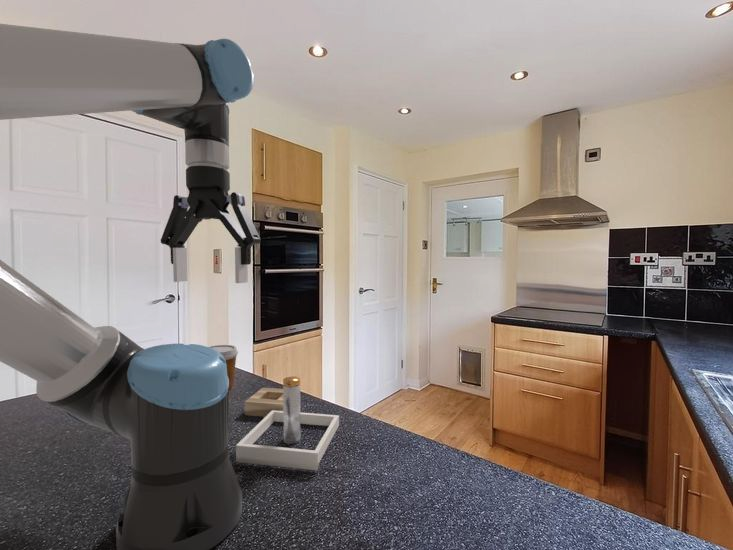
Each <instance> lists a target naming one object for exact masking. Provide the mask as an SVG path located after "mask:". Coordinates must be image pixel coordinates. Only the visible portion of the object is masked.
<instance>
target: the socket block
mask: <svg viewBox="0 0 733 550" xmlns="http://www.w3.org/2000/svg"><path fill="white" fill-rule="evenodd" d="M272 410H276V411H283V388H277V387H261V388H260V389H259V390H258V391H256V392H255V393H254V394H252V395H251V396H250V397H249V398H247V399H246V400H244V416H251V417H263V418H265V417H266V416H267V415H268V414H269V413H270V412H271V411H272Z"/></svg>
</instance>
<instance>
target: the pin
mask: <svg viewBox="0 0 733 550" xmlns="http://www.w3.org/2000/svg"><path fill="white" fill-rule="evenodd" d="M282 382H283V383H282V386H283V387H282V389H283V416H284V422H283V442H284V443H286V444H287V445H288V444H290V445H291V444H297V443H299V442H300V441H301V424H300V412H301V377H299V376H288V377H283V380H282Z"/></svg>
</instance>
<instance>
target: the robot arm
mask: <svg viewBox="0 0 733 550" xmlns="http://www.w3.org/2000/svg"><path fill="white" fill-rule="evenodd" d="M251 66H252V65H251V62H250V59H249V57H248V55H247V54H246V53H245V51H244V50H243V49H242V47H240V45H238V43H236V42H235V41H233V40H232V39H229V38H220V39H215V40H213V39H210V40H207V42H206V43H204V44H192V43H191V44H189V43H177V42H167V41H158V40H157V41H156V40H151V39H150V40H148V39H140V38H139V39H138V38H132V37H131V38H130V37H123V36H122V37H121V36H112V35H105V34H94V33H87V32H86V33H85V32H77V31H67V30H61V29H60V30H59V29H50V28H41V27H35V26H33V27H32V26H24V25H15V24H8V23H7V24H6V23H0V121H1V120H2V121H3V120H4V121H5V120H15V119H16V120H17V119H32V118H45V117H58V116H59V117H60V116H61V117H62V116H73V115H85V114H100V113H101V114H102V113H103V114H104V113H114V112H127V111H131V112H134V113H135V114H137V115H139V116H141V115H142V116H144V117H147V118H149V119H153V120H156V121H158V122H162V123H165V124H168V125H171V126H173V127H175V128H179V129H182V130H184V143H185V144H184V145H185V146H184V148H185V152H184V153H185V156H184V157H185V165H186V166H188V167H187V168H186V169H185V186H186V189H187V190H188V196H181V195H177V194H175V195H174V197H173V204H172V209H171V211H170V214H169V217H168V220H167V222H166V225H165V227H164V230H163V233H162V234H161V235H162V236H161V237H160V244H162V245H166V246H168V247H169V249H170V250H169V251H170V264H171V265H172V266H173V282H174V283H176V282H177V283H179V282H188V252H187V250H188V249H187V247H186V246H185V244H186V242H187V241H188V239H190V236H191V235H192V233H193V232H194V231H195V229H196V227H197V226H198V225H199V223H202V221H203V220H219V221H220V222H221V224H222V225H223V226H224V228H225V229H226V231H228V233H229V234H230V235H231V237H232V238H233V239H234V240H235V242H236V243H237V245H236V247H235V246H234V264H235V266H234V269H235V271H234V273H235V275H234V276H235V281H234V282H235V284H243V283H244V284H245V283H248V282H249V280H248V277H249V275H248V271H249V270H248V268H249V267H248V265H251V262H252V252H251V251H252V247H253V246H255V245H258V244H260V243H261V242H262V241H261V237H260V235H259V233H258V230H257V228H256V226H255V224H254V222H253V220H252V218H251V216H250V214H249V211H248V209H247V206H246V200H245V195H244V194H241V193H238V192H234V191H233V192H231V193H230V194H229V191H230V189H231V187H230V186H231V185H230V184H231V179H230V176H231V175H230V172H229V171H228V170H229V169H230V138H229V137H230V108H229V107H230V106H229V103H235V102H236V101H238V100H241V99H244V98H246V97H248V96H249V95H250V94H251V92H252V90H253V87H254V71H253V69H252V67H251ZM229 205H231V207H232V210H233V213H234V214H235V216H236V219H237V221H238V222H237V221H236V220H235V218H234V216H233V214H232V213H231V211H230V210H229V209H228V207H229ZM0 362H1V363H3V364H5V365H6V366H8V367H10V368H11V369H13V370H16V371H18V372H19V373H21V374H22V375H25V376H26V377H29V378H30V379H32V380H34V381H36V387H35V388H36V389H35V390H36V395H37V397H38V398H39V399H40V400H41V401H43V402H46V403H47V404H49V405H51V406H53V407H55V408H58V409H59V410H61V412H63V413H65V414H66V416H67V417H69V418H70V419H71V420H74V421H75V422H78V423H81V424H85V425H88V426H94V427H97V428H99V429H102V430H105V431H107V432H110V433H113V434H115V435H118V436H121V437H122V438H123V437H124V438H126V439H129V442H130V460H131V461H130V463H131V480H130V483H129V486H128V488H127V492H126V494H125V495H126V496H125V497H124V501H123V503H122V504H123V505H122V508H121V511H120V514H119V517H118V519H117V522H116V527H115V539H116V540H115V542H116V543H115V544H116V546H115V547H116V550H211V549H213V548H214V547H215V546H217V545H218V544H220V543H221V542H222V541H224V539H225V538H227V537H228V535H230V534H231V533H232V532H233V530H234V528H236V526H237V525H238V523H239V521H240V519H241V516H242V514H243V513H242V512H243V492H242V488H241V485H240V483H239V481H238V478H237V475H236V472H235V469H234V467H233V463H232V462H231V459H230V456H229V405H230V403H229V402H230V401H229V395H230V394H229V392H230V391H229V378H228V376H227V365H226V361H225V359H224V357H223V356H222V354H221V353H219V352H218V351H216V350H215V349H212V348H210V346H206V345H202V344H195V343H194V344H193V343H190V344H185V343H168V344H165V343H164V344H159V345H154V346H150V347H147V348H143V347H142V346H140V345H139V344H137V343H136V342H134V340H132V339H130V338H129V337H128V336H126V335H125V334H124V333H123V332H121V331H119V330H118V329H117V328H116V327H114V326H111V325H103V326H97V327H94V326H93V325H92V324H90V323H88V322H87V321H85V320H84V319H83V318H81V317H80V316H79V315H78V314H76V313H75V312H74V311H72V310H71V309H69V308H68V307H67V306H65V305H63V303H61V302H59V301H58V300H57V299H55V298H54V297H53V296H52V295H50V294H48V293H47V292H46V291H45V290H43V289H41V288H40V287H39V286H38V285H36V284H35V283H34V282H32V281H31V280H29V279H28V278H26V277H25V276H24V275H22V274H21V273H19V272H18V271H16V270H15V269H14V268H12V267H11V266H9V264H7V263H6V262H4V261H2V259H0Z"/></svg>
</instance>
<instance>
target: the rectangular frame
mask: <svg viewBox="0 0 733 550" xmlns="http://www.w3.org/2000/svg"><path fill="white" fill-rule="evenodd" d="M274 422H275V423H276V422H277V423H279V422H280V423H284V416H283V411H276V410H272V411H271V412H270V413H269V414H268V415H267V416H266V417H263V419H262V420H260V421H259V423H258V424H256V425H255V426H254V427H253V428H252V429H251V430H250V431H249V432H248V433H247V434H246V435H245V436H244V437H243V438H242V439H241V440H240V441H239V442H237V444H236V445H235V463H243V464H251V465H253V464H254V465H259V466H270V467H281V468H289V469H298V470H299V469H300V470H307V471H308V470H310V471H319V469H320V467H321V465H322V463H320V462H321V460H322V458H323V456H324V454H325V453H326V451H327V450H328V446H329V445H330V443H331V441H332V439H333V437H334V436H335V434H336V432H337V430H338V428H339V426H340V415H336V414H325V413H312V412H301V411H300V425H312V426H326V427H327V429H326V431H325V432H324V434H323V436H322V438H321V439H320V441H319V442H318V444H317V446H316V448H315V449H314V450H313V449H312V450H311V449H304V448H303V449H301V448H294V447H293V448H292V447H282V446H272V445H264V444H263V445H262V444H260V445H259V444H254V443H255V442H256V441H257V440H258V439H259V438H260V437H261V436H262V435H263V434H264V433H265V431H267V429H268V428H269V427H270V426H271V425H272V424H273V423H274Z"/></svg>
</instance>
